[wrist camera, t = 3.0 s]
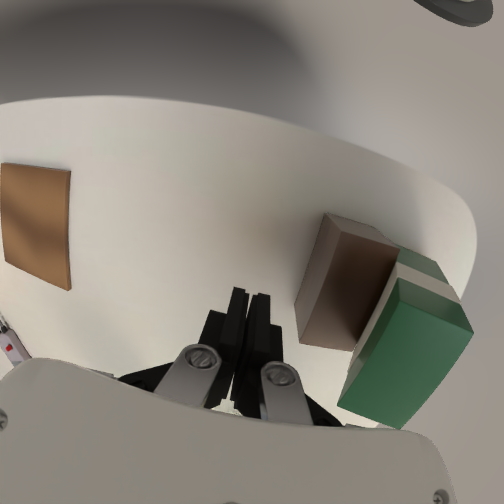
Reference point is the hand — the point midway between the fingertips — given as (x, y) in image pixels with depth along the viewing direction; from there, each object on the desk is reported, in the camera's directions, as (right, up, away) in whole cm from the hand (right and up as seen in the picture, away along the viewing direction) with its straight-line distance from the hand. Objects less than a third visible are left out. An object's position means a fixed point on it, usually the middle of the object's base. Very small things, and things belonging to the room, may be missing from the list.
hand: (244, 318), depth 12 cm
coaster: (-23, +6, +9) cm, 25 cm away
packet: (+11, +1, +9) cm, 14 cm away
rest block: (+7, +2, +9) cm, 11 cm away
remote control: (-38, -13, +17) cm, 44 cm away
